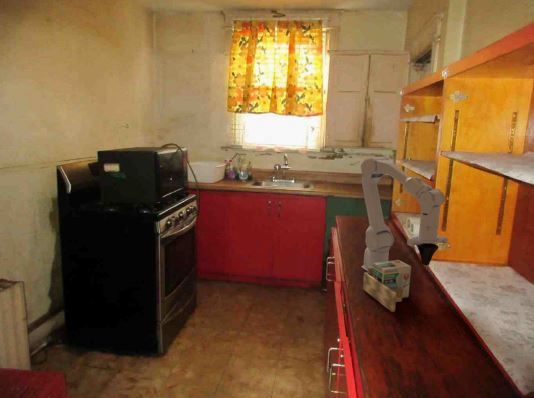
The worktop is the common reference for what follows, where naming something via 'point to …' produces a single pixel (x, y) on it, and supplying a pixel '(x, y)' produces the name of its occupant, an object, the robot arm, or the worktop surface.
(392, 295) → the shelf slot
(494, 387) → the worktop surface
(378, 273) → the light bulb box
